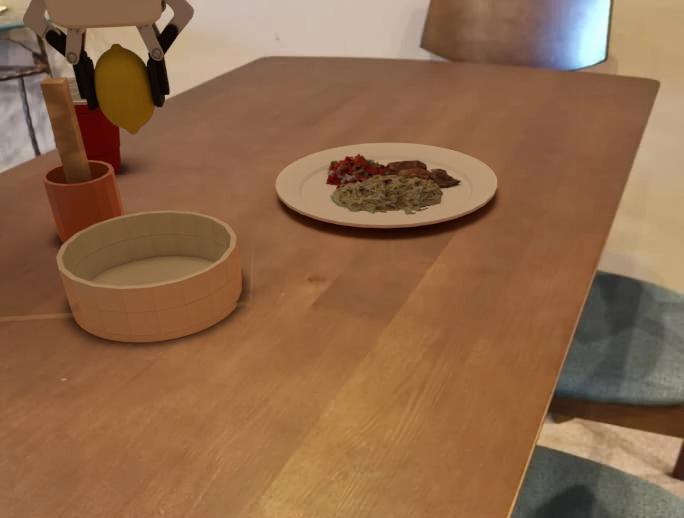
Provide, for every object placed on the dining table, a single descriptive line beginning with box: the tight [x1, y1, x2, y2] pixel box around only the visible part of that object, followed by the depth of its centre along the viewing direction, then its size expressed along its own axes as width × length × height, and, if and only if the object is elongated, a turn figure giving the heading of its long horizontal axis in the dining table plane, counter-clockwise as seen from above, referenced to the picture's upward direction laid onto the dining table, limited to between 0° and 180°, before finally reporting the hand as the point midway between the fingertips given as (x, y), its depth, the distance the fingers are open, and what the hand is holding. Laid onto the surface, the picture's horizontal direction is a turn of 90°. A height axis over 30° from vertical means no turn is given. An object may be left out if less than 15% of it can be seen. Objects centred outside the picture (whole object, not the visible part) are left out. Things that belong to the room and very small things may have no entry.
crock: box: [40, 160, 125, 244], centre depth 88 cm, size 8×8×8 cm
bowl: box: [55, 209, 243, 344], centre depth 77 cm, size 18×18×6 cm
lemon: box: [94, 43, 156, 135], centre depth 69 cm, size 6×6×8 cm
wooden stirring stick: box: [39, 76, 92, 184], centre depth 85 cm, size 4×4×17 cm
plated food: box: [275, 142, 498, 229], centre depth 98 cm, size 30×30×3 cm
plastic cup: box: [40, 76, 122, 175], centre depth 104 cm, size 11×11×12 cm
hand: (127, 103), depth 70 cm, fingers closed on lemon, 5 cm apart
